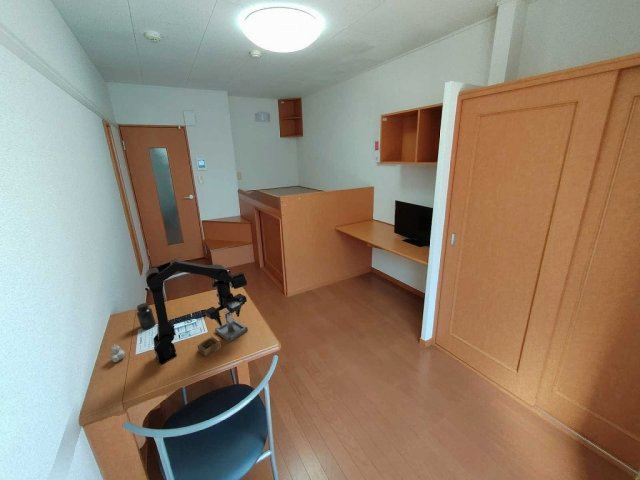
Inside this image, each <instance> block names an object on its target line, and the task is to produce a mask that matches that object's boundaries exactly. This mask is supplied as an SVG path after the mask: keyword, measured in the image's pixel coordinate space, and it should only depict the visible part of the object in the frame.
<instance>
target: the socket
mask: <svg viewBox="0 0 640 480" xmlns="http://www.w3.org/2000/svg"><path fill="white" fill-rule="evenodd" d="M196 346H197V351H198V352H199V353H201V355H203V356H204V358H208V357H209V356H211V355H212V354H214V353H216V352H218V351H219V350H221V349H222V346H221V342H220V341H219V340H217V339H216V338H215V337H213V336H210V337H208V338H207V339H205V340H203V341H201V342H200V343H198V344H196ZM207 347H208V348H207Z"/></svg>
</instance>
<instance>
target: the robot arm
mask: <svg viewBox="0 0 640 480" xmlns="http://www.w3.org/2000/svg"><path fill="white" fill-rule="evenodd" d="M177 272H179V273H187V274H194V275H198V276H199V275H200V276H205V277H209V278H210V279H212V280H213V281H212V282H210V286H211V287H212V288H215V287H216V292H217V293H216V294H215V295H216V297H217V298H218V302H217V304H218V305H219V306H218V307H214V306H211V307H209V308H207V309H205V310H204V314H205V316H206V317H207V318H209V319H210V320H215V321H216V323H217V324H218V325H219V326H222V325H223V324H222V320H221V317H222V316H221V313H220V312H222V311H224V310H225V309H226V311H229V312H230V313H232V314H234V313H235V314H236V317H238V318H239V317H240V314H241V308H242V307H243V305H245V303H247V302H248V299H247V296H246V295H243V294H242V293H238V294H235V295H234V294H233V293H232V291H231V289H232V288H233V290H238V289H241V288H243V287H246V286H248V282H247V279H246V277H245V273H244V272H242V271H241V272H238V273H236V274H233V275H232V274H231V273H230V272H229V271H228V270H227V268H226V267H225V266H224V265H222V264H209V265H207V264H202V263H201V264H200V263H194V262H190V261H182V260H179V259H172V260H170V261H168V262H166V263H162V264H160V265H158V266H156V267H151V268H149V269H147V271H146V272H145V282H146V285H147V286H148V289H149V291H150V293H151V294H152V299H153V303H154V308H155V313H156V318H157V319H156V320H157V330H156V331H157V332H156V334H155V336H154V337H153V339H152V340H153V350H154V354H155V359H156V361H157V362H158V363H159V364H160V365H163V364H165V363H166V362H169V361H170V360H172V359H174V358H176V357H177V356H178V354H177V352H176V351H177V350H176V347H175V344H174V343H173V341H174V340H175V336H176V335H177V334H176V331H175V325H174V321H173V319H172V320H169V319H168V314H167V308H166V304H165V298H164V292H163V291H164V281H167V280H168V279H169V278H171V277H172V276H173V275H174V274H175V273H177Z"/></svg>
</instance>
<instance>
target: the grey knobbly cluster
mask: <svg viewBox="0 0 640 480" xmlns="http://www.w3.org/2000/svg"><path fill="white" fill-rule="evenodd" d="M110 352H111V353H110V355H109V356H108V359H109V360H110V361H113V363H116V362H118V361H120V360H122V359H124V358H125V355H126V352H125V350H123V349H121V347H120V346H119V345H118V344H115V343H113V345H111V348H110Z"/></svg>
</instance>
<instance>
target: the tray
mask: <svg viewBox="0 0 640 480" xmlns="http://www.w3.org/2000/svg"><path fill="white" fill-rule="evenodd" d="M233 323H234V328H235V330H234V331H233V332H228V329H227V324H226V322H225V323H223V324H222V326H220V325H219V326H217V327H216V328H214V331H215V333H216V334H217V335H219V336H220V337H222V338H223V339H224V340H226V341H227V342H229V343H230V342H232V341H234V340H235V339H237V338H239V337H240V336H242V335H244V334H245V333H246V332H248V327H247V326H246V325H245V324H243V323H241V322H239V321H238V320H236V319H235V318H233Z"/></svg>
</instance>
